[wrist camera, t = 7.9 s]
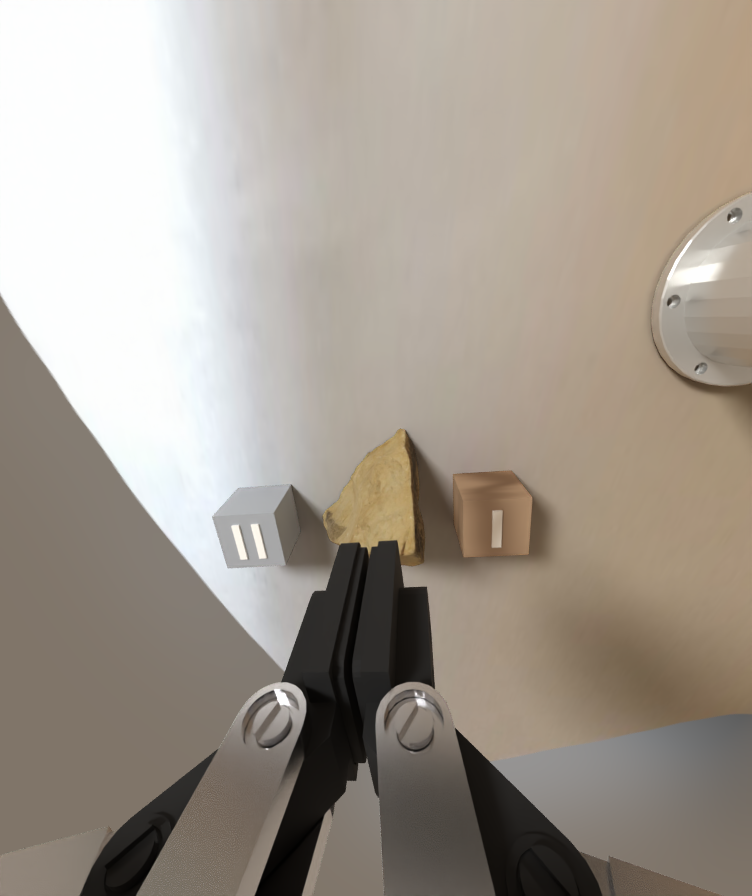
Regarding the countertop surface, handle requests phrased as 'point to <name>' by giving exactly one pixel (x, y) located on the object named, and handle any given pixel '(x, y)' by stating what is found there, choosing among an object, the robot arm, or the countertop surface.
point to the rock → (382, 502)
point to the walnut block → (491, 514)
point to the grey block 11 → (258, 526)
